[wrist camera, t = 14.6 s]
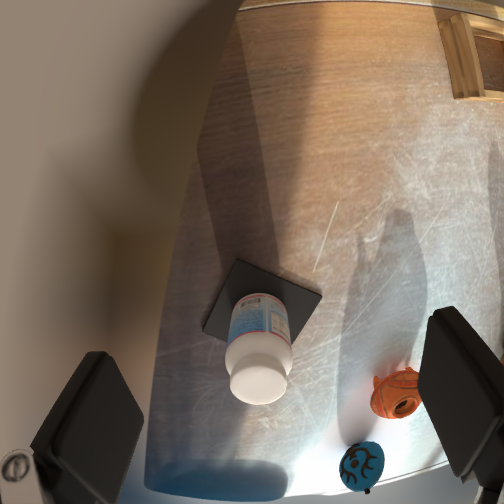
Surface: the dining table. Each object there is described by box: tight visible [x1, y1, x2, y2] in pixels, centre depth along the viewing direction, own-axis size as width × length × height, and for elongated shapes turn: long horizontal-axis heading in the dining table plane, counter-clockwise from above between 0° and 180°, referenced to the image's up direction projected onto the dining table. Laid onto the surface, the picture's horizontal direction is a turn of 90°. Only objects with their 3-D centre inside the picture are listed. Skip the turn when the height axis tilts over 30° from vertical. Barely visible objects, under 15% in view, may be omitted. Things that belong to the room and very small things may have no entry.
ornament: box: [339, 441, 385, 494], centre depth 40 cm, size 8×5×10 cm, turn 139°
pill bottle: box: [225, 293, 293, 404], centre depth 30 cm, size 6×6×11 cm
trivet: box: [202, 259, 322, 345], centre depth 35 cm, size 10×10×1 cm
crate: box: [438, 12, 504, 103], centre depth 22 cm, size 11×9×5 cm
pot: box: [370, 367, 422, 419], centre depth 36 cm, size 8×8×7 cm
